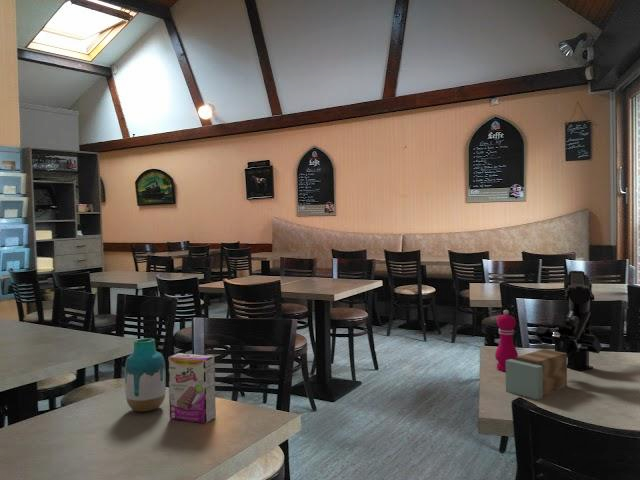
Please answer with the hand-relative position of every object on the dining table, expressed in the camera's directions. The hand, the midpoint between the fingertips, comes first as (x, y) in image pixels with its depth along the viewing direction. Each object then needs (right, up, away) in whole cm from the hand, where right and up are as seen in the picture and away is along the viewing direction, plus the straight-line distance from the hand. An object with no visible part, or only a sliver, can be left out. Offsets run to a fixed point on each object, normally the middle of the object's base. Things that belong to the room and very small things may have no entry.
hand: (556, 361), depth 156 cm
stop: (-14, -7, -10) cm, 18 cm away
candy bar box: (-105, -10, -23) cm, 108 cm away
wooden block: (-6, -7, -4) cm, 10 cm away
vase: (-119, -10, -15) cm, 121 cm away
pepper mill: (-9, -7, +16) cm, 20 cm away
